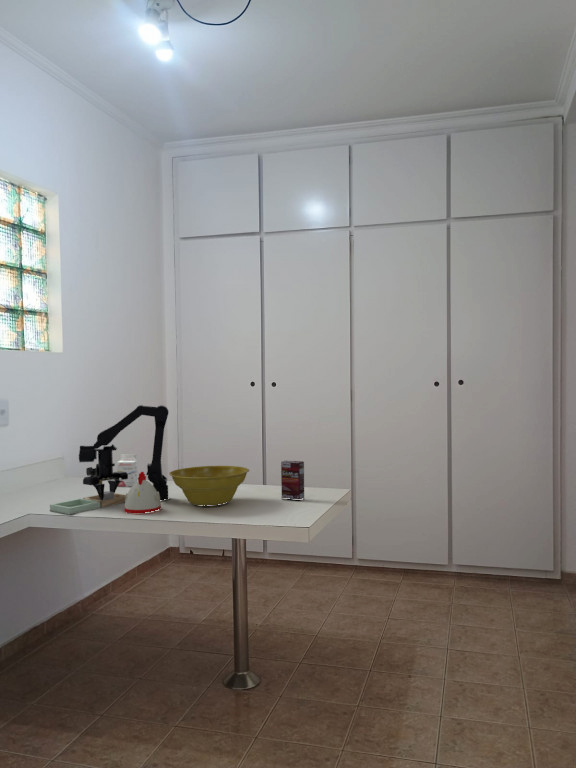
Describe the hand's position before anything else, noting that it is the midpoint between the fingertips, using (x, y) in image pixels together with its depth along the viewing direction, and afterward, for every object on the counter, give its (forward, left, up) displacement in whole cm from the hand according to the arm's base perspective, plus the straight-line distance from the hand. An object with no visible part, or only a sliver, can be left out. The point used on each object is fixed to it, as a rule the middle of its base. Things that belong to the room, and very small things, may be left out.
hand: (106, 498), depth 274 cm
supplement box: (-62, -46, -2) cm, 77 cm away
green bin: (0, +15, -2) cm, 15 cm away
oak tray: (0, 0, -2) cm, 2 cm away
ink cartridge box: (+25, -31, -2) cm, 40 cm away
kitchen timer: (-24, +1, -2) cm, 24 cm away
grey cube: (0, 0, -1) cm, 1 cm away
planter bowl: (-38, -22, -2) cm, 44 cm away
